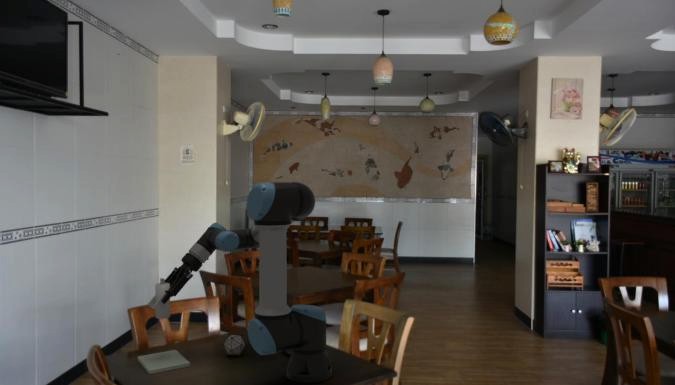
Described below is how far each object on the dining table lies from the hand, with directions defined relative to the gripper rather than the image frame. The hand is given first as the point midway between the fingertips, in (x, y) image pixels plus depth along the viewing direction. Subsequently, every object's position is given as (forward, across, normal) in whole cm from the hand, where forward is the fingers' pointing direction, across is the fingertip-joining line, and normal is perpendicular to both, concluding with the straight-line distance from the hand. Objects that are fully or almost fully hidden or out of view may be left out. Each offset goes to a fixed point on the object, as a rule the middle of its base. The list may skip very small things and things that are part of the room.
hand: (152, 308), depth 188 cm
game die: (-5, -10, -34) cm, 35 cm away
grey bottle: (0, 0, -5) cm, 5 cm away
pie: (-20, -22, -49) cm, 57 cm away
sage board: (+12, -1, -16) cm, 21 cm away
